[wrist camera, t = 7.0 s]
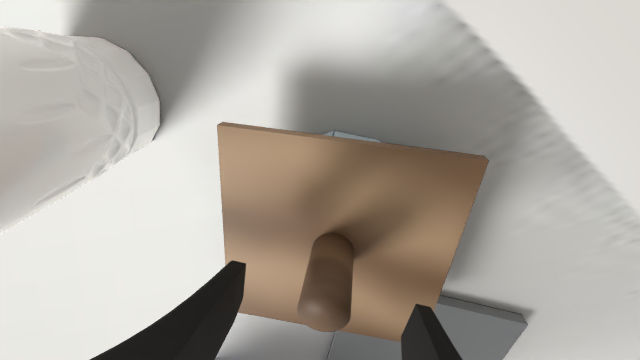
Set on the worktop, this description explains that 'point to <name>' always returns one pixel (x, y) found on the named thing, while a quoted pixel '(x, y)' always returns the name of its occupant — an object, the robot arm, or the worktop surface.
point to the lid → (341, 225)
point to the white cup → (66, 116)
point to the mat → (459, 324)
